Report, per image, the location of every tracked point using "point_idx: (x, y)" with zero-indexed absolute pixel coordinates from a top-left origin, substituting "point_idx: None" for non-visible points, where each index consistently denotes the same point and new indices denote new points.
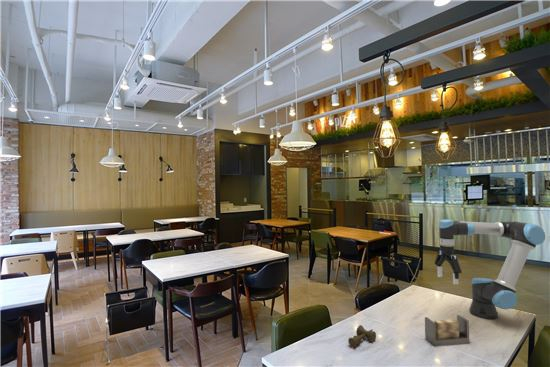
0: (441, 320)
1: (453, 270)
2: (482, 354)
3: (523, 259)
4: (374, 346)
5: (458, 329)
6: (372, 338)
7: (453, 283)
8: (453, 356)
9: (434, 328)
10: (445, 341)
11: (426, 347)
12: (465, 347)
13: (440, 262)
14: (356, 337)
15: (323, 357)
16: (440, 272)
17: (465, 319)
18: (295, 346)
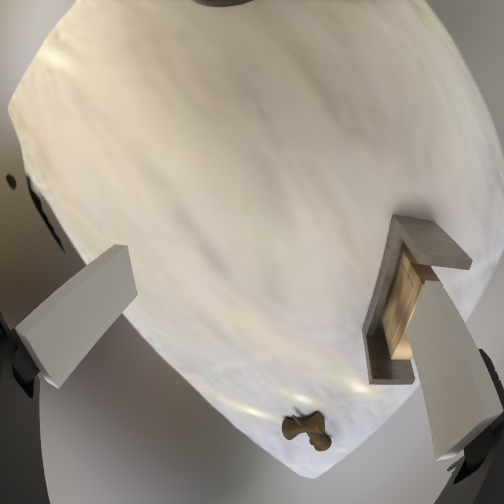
0: (403, 338)
1: (448, 493)
2: (480, 239)
3: None
4: (337, 418)
5: (431, 270)
6: (324, 424)
7: (411, 336)
8: None
9: (410, 367)
10: None
11: None
12: None
13: (36, 462)
14: (319, 444)
15: (331, 458)
16: (96, 304)
17: (461, 265)
18: (292, 466)
